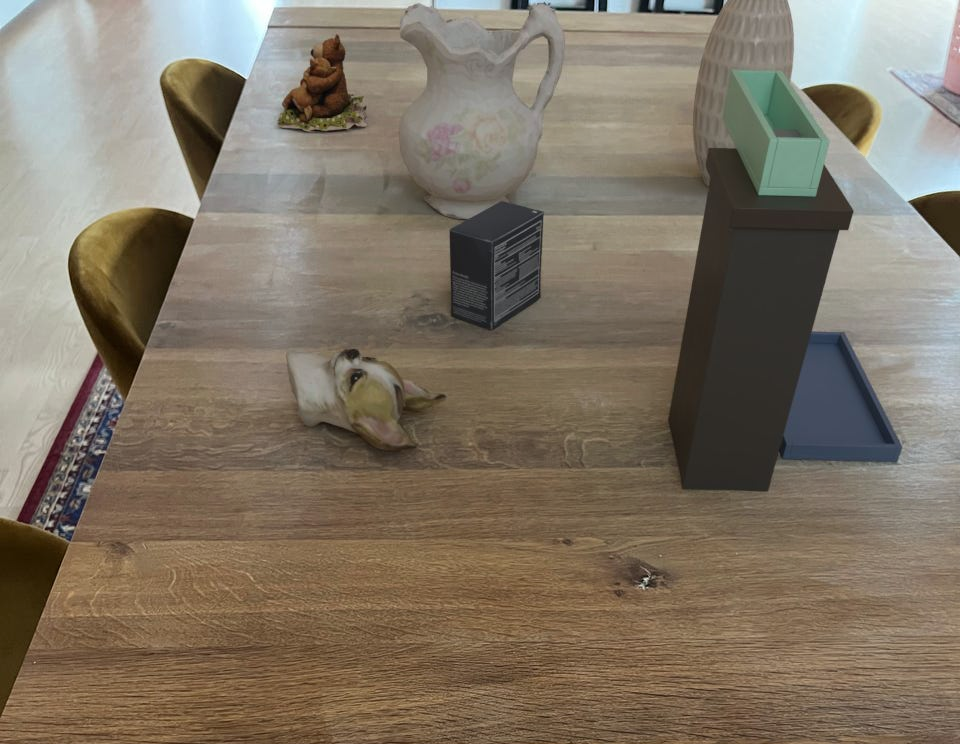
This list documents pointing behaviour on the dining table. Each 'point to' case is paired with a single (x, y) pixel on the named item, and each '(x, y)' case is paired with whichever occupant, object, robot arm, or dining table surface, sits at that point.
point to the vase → (737, 63)
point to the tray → (836, 408)
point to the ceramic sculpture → (356, 395)
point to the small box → (496, 264)
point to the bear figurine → (323, 94)
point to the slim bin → (774, 133)
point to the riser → (748, 323)
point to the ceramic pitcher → (474, 108)
